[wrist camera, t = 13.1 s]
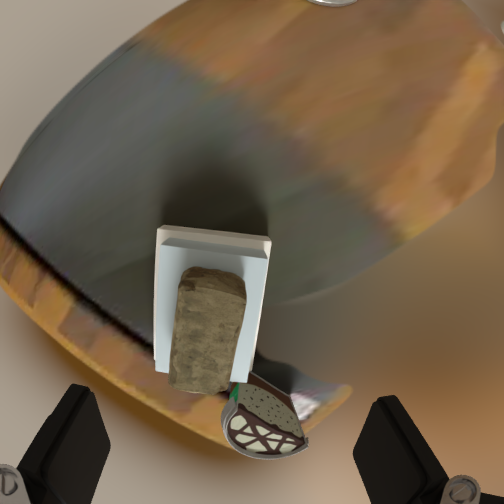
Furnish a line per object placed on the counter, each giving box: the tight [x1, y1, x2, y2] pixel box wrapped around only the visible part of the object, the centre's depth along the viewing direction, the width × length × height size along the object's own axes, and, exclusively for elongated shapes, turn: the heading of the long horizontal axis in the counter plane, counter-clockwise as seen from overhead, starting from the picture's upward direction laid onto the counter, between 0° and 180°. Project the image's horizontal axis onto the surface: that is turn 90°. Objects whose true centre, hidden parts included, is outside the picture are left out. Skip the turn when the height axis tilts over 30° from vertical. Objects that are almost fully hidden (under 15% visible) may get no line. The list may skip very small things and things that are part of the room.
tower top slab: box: [156, 237, 268, 383], centre depth 31 cm, size 14×10×4 cm
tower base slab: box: [154, 225, 271, 371], centre depth 35 cm, size 16×12×4 cm
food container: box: [221, 371, 309, 459], centre depth 35 cm, size 12×6×10 cm, turn 49°
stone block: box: [168, 266, 247, 395], centre depth 26 cm, size 6×12×5 cm, turn 170°
